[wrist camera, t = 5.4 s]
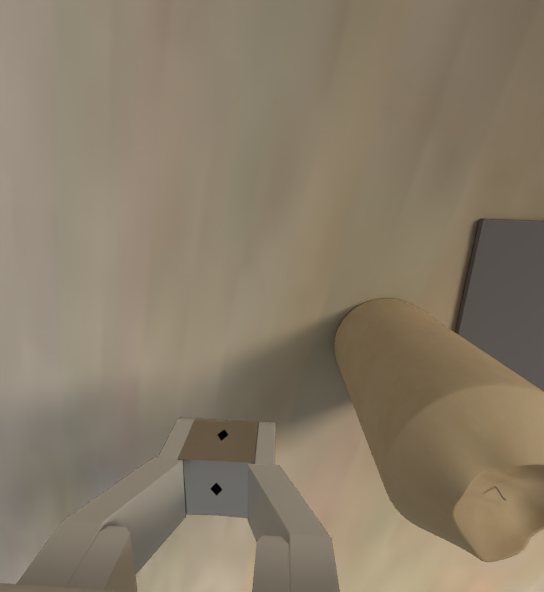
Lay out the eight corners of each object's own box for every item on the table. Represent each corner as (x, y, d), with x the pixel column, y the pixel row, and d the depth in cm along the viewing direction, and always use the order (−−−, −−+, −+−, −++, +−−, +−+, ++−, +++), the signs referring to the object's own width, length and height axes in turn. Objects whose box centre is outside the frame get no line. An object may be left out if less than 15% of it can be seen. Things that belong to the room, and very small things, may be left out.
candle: (398, 398, 17) (542, 623, 8) (316, 363, 17) (362, 556, 7) (449, 321, 16) (704, 478, 6) (362, 280, 16) (495, 383, 6)
